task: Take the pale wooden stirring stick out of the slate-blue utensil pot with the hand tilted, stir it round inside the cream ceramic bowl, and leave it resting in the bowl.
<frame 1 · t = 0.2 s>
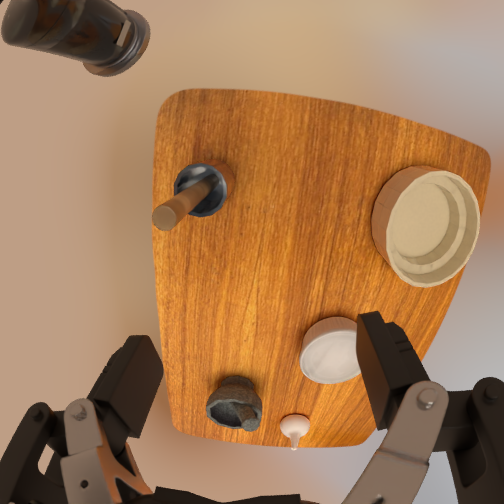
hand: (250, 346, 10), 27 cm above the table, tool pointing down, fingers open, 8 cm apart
ramekin: (331, 337, 43), on the table
garlic bulb: (294, 419, 52), on the table
bowl: (417, 218, 34), on the table
stick: (212, 181, 34), resting on utensil pot
mortar and pestle: (239, 384, 48), on the table
utensil pot: (212, 180, 34), on the table
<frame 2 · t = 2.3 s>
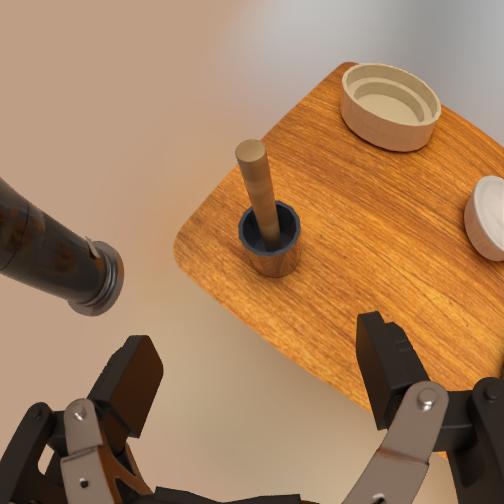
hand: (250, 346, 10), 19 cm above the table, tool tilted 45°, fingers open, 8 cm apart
ramekin: (486, 230, 28), on the table
bowl: (386, 118, 37), on the table
stick: (275, 252, 31), resting on utensil pot
utensil pot: (275, 253, 32), on the table
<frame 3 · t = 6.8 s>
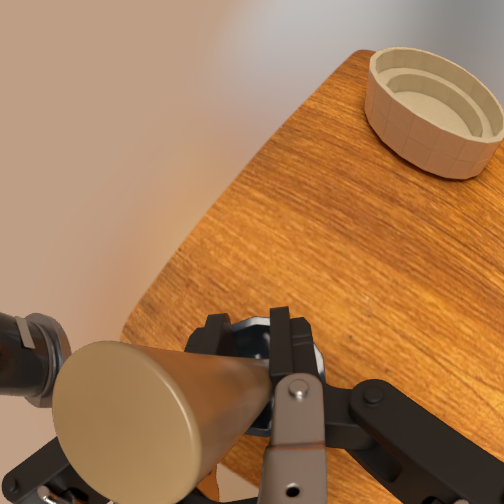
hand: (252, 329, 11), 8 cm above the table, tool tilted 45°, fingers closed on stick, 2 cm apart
bowl: (429, 126, 24), on the table
stick: (274, 372, 17), point 1 cm above the table, touching gripper, utensil pot
utensil pot: (274, 371, 18), on the table
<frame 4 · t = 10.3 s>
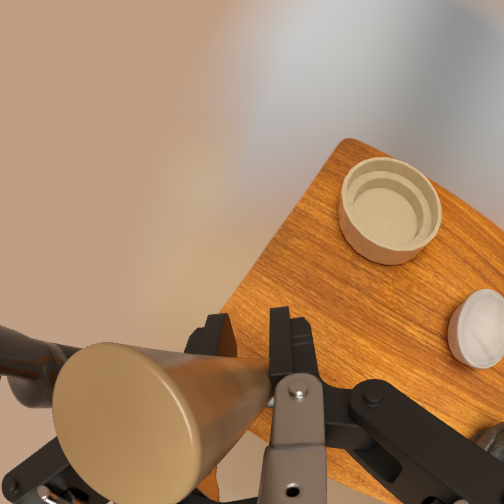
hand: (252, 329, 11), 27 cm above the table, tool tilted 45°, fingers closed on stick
ramekin: (468, 333, 31), on the table
bowl: (384, 219, 40), on the table
stick: (274, 372, 17), point 19 cm above the table, touching gripper
mortar and pestle: (478, 443, 24), on the table
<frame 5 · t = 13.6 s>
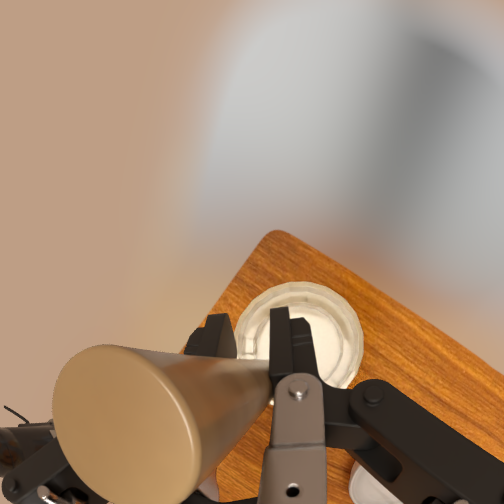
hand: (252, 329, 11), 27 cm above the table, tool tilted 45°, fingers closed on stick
ramekin: (381, 466, 27), on the table
bowl: (298, 347, 36), on the table
stick: (274, 372, 17), point 20 cm above the table, touching gripper
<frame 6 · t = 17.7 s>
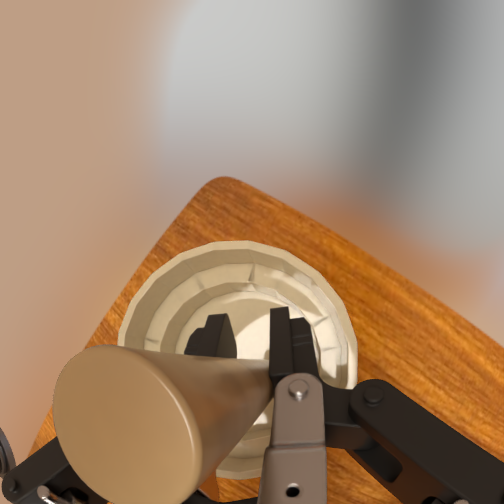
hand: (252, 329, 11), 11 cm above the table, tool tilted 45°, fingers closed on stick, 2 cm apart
bowl: (244, 362, 21), on the table
stick: (274, 372, 17), point 3 cm above the table, touching gripper
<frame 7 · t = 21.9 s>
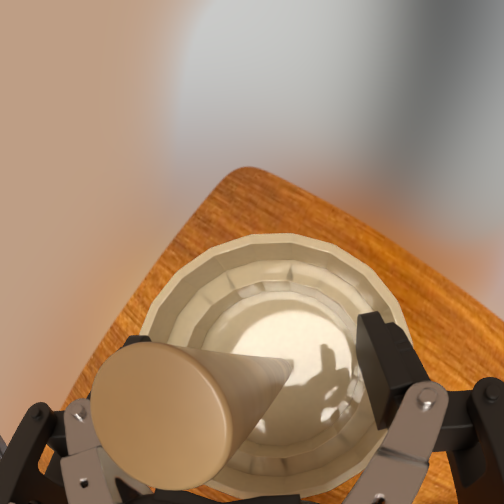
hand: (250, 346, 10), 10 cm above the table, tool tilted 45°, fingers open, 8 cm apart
bowl: (277, 369, 19), on the table
stick: (278, 370, 18), point 1 cm above the table, touching bowl
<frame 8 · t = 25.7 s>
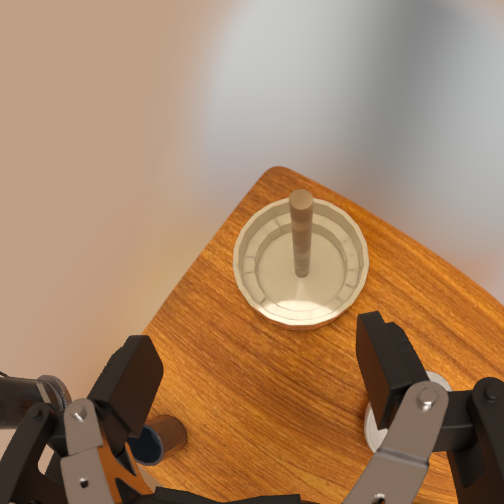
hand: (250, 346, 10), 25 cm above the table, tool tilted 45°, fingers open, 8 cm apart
ramekin: (398, 411, 27), on the table
bowl: (301, 272, 36), on the table
stick: (301, 271, 36), point 1 cm above the table, touching bowl
utensil pot: (168, 433, 31), on the table
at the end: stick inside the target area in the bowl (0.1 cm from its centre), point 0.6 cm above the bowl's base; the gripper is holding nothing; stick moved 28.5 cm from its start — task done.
